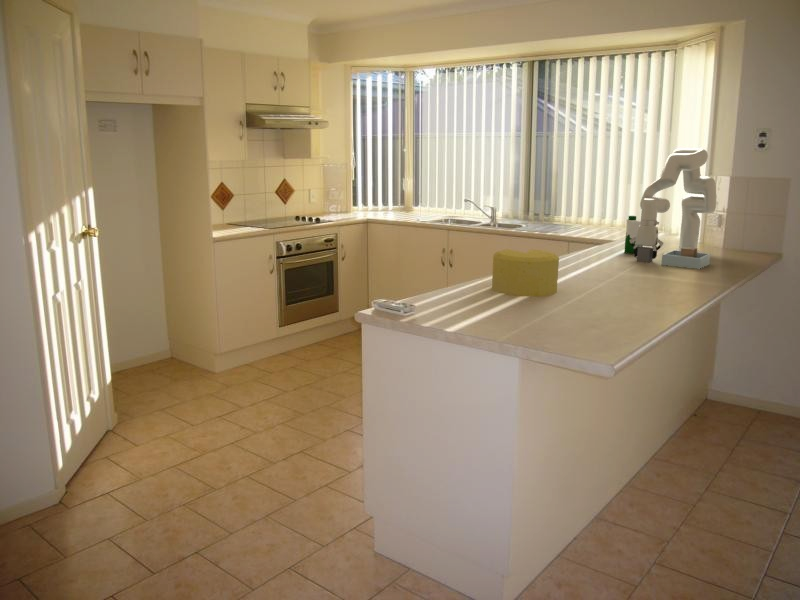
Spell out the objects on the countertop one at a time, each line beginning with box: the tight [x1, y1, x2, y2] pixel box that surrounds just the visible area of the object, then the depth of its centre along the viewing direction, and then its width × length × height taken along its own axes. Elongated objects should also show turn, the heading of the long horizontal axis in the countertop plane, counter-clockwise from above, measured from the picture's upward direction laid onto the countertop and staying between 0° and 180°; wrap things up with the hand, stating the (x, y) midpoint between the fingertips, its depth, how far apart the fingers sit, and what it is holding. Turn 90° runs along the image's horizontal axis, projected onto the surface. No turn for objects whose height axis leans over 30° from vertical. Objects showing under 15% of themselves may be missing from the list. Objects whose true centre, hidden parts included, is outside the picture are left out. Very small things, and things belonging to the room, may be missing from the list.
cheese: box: [491, 248, 560, 297], centre depth 277 cm, size 26×26×15 cm
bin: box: [661, 249, 711, 270], centre depth 341 cm, size 18×18×5 cm
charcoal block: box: [636, 246, 654, 264], centre depth 349 cm, size 6×6×7 cm
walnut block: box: [681, 247, 699, 258], centre depth 344 cm, size 6×6×7 cm
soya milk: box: [623, 215, 644, 255], centre depth 374 cm, size 9×9×20 cm
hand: (644, 257), depth 349 cm, fingers open, 8 cm apart
